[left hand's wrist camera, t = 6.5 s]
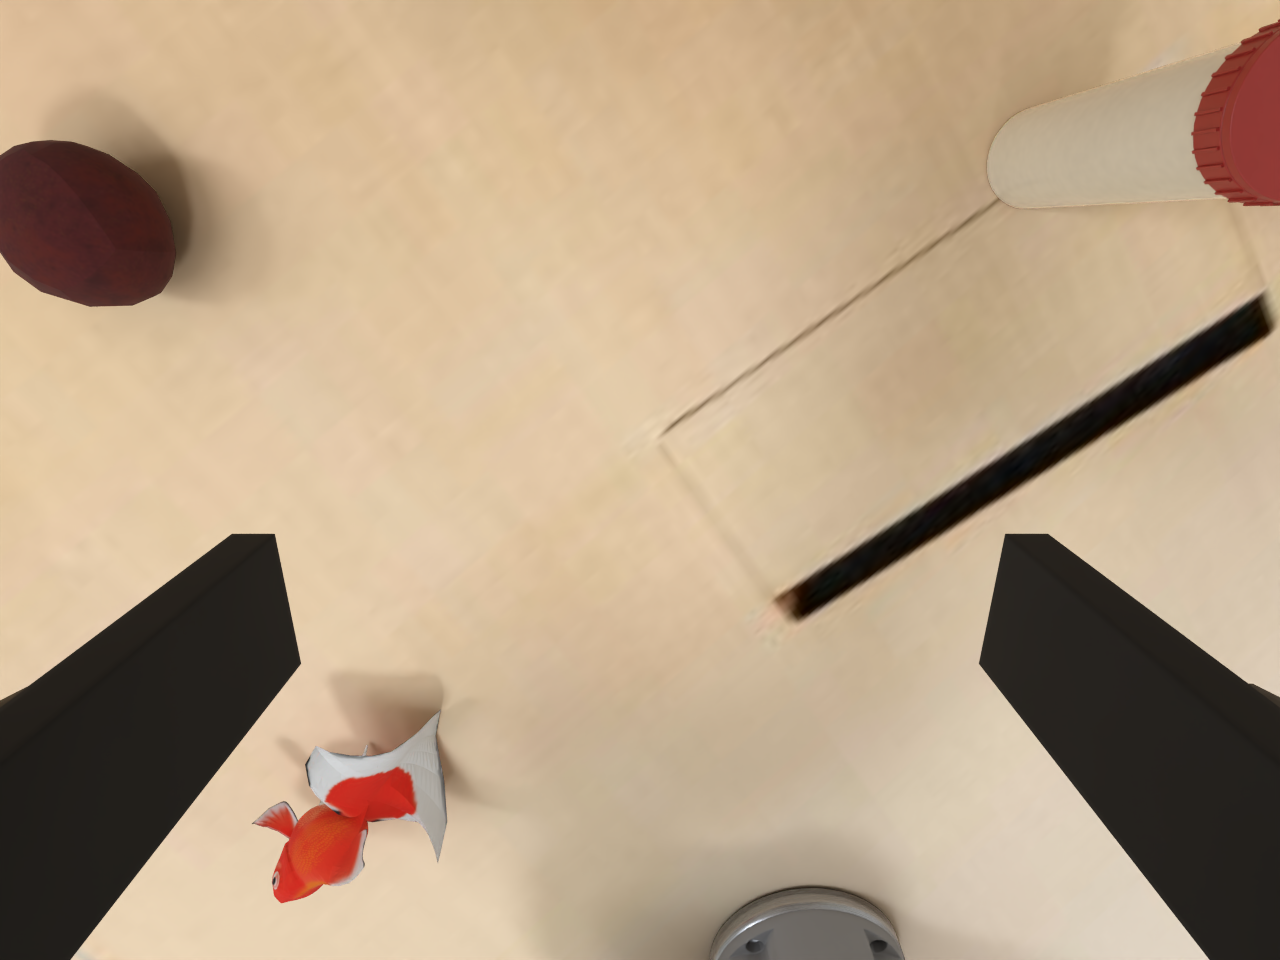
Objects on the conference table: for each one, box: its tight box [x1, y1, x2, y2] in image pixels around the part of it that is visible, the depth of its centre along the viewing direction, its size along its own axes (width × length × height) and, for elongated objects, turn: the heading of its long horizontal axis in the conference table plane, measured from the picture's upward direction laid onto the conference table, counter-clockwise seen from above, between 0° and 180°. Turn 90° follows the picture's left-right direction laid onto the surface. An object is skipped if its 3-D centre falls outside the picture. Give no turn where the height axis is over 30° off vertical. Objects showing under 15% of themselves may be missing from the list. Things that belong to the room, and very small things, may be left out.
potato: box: [0, 140, 176, 307], centre depth 33 cm, size 7×8×7 cm
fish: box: [252, 710, 447, 903], centre depth 45 cm, size 11×16×10 cm
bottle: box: [987, 42, 1241, 209], centre depth 28 cm, size 5×5×16 cm
